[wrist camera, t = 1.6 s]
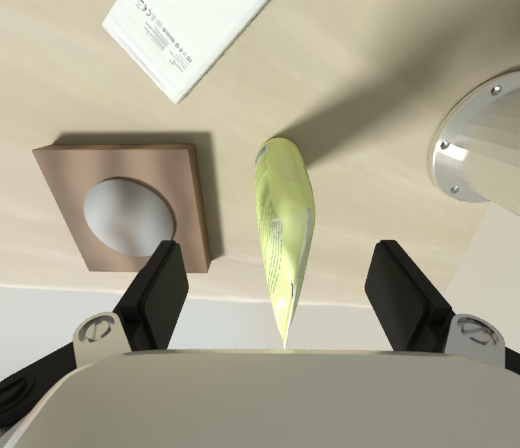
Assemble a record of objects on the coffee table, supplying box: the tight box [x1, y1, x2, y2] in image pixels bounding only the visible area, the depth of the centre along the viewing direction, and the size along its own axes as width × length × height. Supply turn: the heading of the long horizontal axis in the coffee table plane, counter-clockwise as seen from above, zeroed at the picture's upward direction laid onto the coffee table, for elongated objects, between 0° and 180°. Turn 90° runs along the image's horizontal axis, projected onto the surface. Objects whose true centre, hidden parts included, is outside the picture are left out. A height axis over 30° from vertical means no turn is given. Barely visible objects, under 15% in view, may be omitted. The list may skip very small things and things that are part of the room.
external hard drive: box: [102, 0, 269, 104], centre depth 20 cm, size 2×8×12 cm
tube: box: [255, 138, 315, 349], centre depth 18 cm, size 6×5×20 cm
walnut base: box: [32, 144, 211, 273], centre depth 29 cm, size 16×16×3 cm
